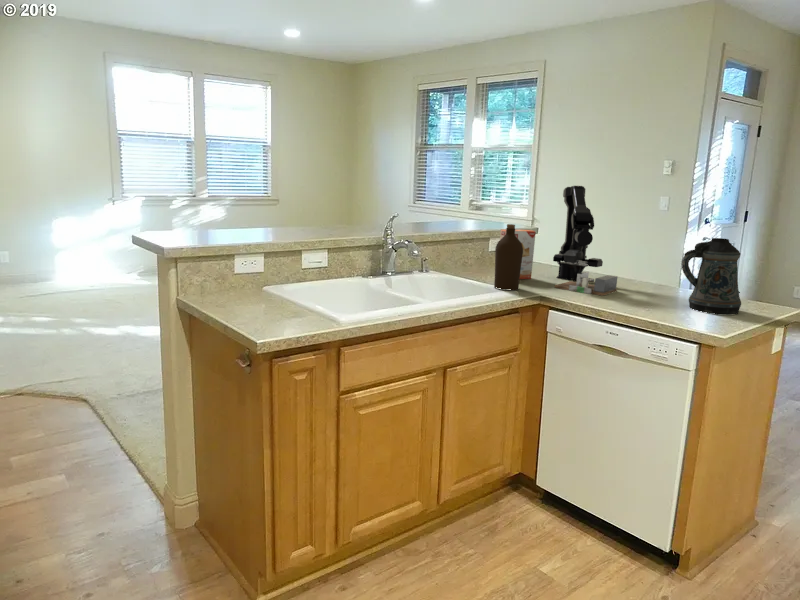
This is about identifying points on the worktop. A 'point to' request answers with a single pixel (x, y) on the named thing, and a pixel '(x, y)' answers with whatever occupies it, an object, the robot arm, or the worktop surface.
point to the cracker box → (525, 250)
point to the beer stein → (714, 277)
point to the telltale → (585, 282)
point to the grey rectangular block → (605, 283)
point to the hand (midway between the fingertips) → (575, 281)
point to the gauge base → (581, 288)
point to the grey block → (580, 278)
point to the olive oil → (508, 260)
